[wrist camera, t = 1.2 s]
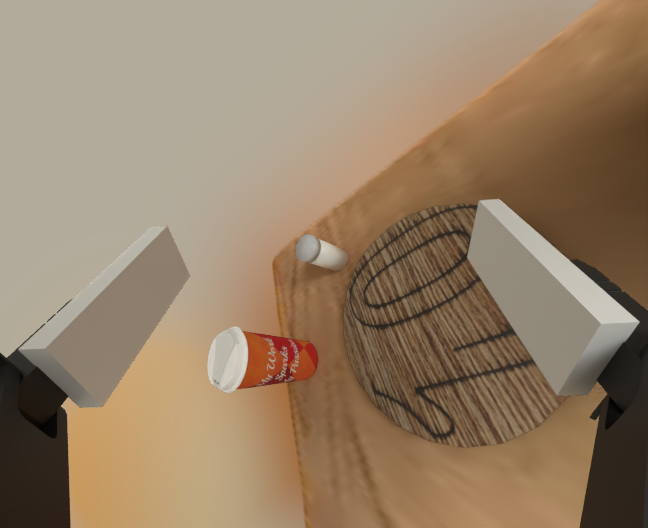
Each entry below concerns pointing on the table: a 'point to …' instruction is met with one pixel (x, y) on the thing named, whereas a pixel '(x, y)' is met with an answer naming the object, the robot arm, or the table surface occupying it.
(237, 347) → the paper cup
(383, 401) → the trivet
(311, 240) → the salt shaker
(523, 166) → the table surface
